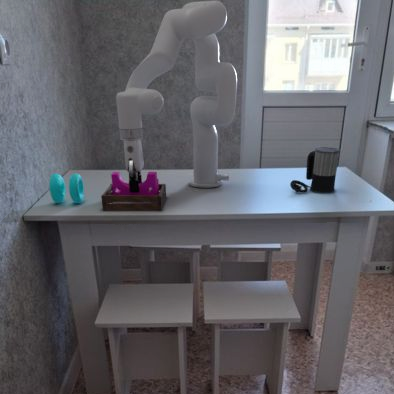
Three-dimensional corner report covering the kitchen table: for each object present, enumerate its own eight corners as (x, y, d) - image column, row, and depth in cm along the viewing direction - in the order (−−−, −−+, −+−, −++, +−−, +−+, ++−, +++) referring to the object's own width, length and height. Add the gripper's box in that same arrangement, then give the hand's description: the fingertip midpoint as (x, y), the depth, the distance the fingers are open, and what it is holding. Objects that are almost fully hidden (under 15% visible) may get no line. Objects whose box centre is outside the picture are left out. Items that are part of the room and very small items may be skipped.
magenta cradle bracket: (159, 192, 173) (157, 170, 169) (156, 196, 168) (154, 174, 164) (117, 192, 174) (115, 170, 170) (113, 196, 169) (111, 174, 165)
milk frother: (339, 190, 187) (345, 149, 179) (317, 198, 177) (322, 155, 169) (307, 184, 195) (311, 144, 187) (284, 191, 185) (288, 150, 178)
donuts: (59, 199, 178) (54, 170, 173) (86, 199, 178) (82, 170, 173) (51, 206, 170) (46, 177, 165) (79, 206, 170) (75, 177, 164)
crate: (166, 197, 179) (165, 183, 176) (161, 210, 165) (160, 195, 162) (112, 197, 180) (110, 183, 177) (102, 210, 165) (101, 195, 163)
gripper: (139, 138, 153) (143, 196, 163) (145, 129, 168) (149, 182, 177) (115, 138, 153) (121, 196, 163) (124, 129, 168) (129, 183, 178)
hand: (136, 188), depth 170 cm, fingers closed on magenta cradle bracket, 6 cm apart
